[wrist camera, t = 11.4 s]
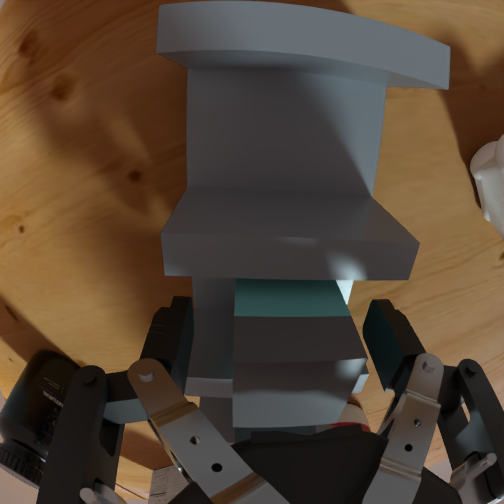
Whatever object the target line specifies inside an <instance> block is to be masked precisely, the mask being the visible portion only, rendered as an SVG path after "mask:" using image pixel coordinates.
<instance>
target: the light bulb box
mask: <svg viewBox="0 0 504 504" xmlns="http://www.w3.org/2000/svg"><path fill="white" fill-rule="evenodd" d="M187 485H188V483H187V482H186V480H185V479H184V478H183V476H182V475H181V474H180V472H179V471H178V469H177V468H176V466H175V465H172V466H169V467H166V468H162V469H159V470H155V471H153V474H152V480H151V487H150V494H149V501H148V504H167V503H168V502H170V501H171V500H172V499H173V498H174V497H175V496H176V495H177V494H178V493H179V492H181V491H182V490H183V489H184V488H185V487H186V486H187Z"/></svg>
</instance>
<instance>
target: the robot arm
mask: <svg viewBox="0 0 504 504" xmlns="http://www.w3.org/2000/svg"><path fill="white" fill-rule="evenodd" d="M193 338H194V318H193V307H192V298H191V297H184V296H174V297H173V300H172V303H171V306H170V308H169V307H161V308H160V309H159V310H158V311H157V312H156V313H155V314H154V317H153V320H152V323H151V326H150V329H149V332H148V334H147V337H146V340H145V343H144V347H143V350H142V353H141V356H140V359H139V360H138V361H136V362H134V363H133V364H132V365H131V366H130V367H129V369H128V370H126V371H122V372H116V373H108V374H105V372H104V370H103V369H102V368H100V367H98V366H94V365H88V366H84V367H82V368H80V369H79V370H77V371H76V373H75V374H74V376H73V378H72V381H71V383H70V386H69V389H68V392H67V394H66V397H65V400H64V403H63V406H62V409H61V412H60V415H59V418H58V421H57V424H56V427H55V431H54V434H53V437H52V441H51V444H50V448H49V451H48V455H47V458H46V462H45V466H44V470H43V474H42V479H41V483H40V487H39V492H38V497H37V502H36V504H127V503H126V501H125V500H124V499H123V498H122V497H121V496H119V495H118V494H117V493H115V492H114V490H115V482H116V475H117V468H118V462H119V455H120V449H121V443H122V438H123V432H124V427H125V423H133V422H140V421H147V422H148V424H149V425H150V427H151V429H152V430H153V432H154V434H155V435H156V437H157V438H158V440H159V441H160V443H161V445H162V446H163V448H164V449H165V451H166V452H167V454H168V455H169V457H170V459H171V460H172V462H173V463H174V465H175V466H176V468H177V469H178V471H179V472H180V474H181V475H182V476H183V478H184V479H185V480H186V482H187V483H188V485H187V486H186V487H185V488H184V489H183V490H182V491H181V492H179V493H178V494H177V495H176V496H175V497H174V498H173V499H172V500H171V501H170V502H168V503H167V504H496V503H497V502H499V501H501V500H502V499H504V411H503V409H502V407H501V405H500V402H499V400H498V398H497V396H496V394H495V392H494V390H493V388H492V386H491V384H490V383H489V381H488V379H487V377H486V375H485V373H484V371H483V369H482V368H481V366H480V365H479V364H478V363H477V362H476V361H474V360H471V359H463V360H462V361H461V362H460V363H459V365H458V366H457V367H454V366H446V365H443V363H442V362H441V360H440V359H439V358H438V357H436V356H435V355H433V354H429V353H426V351H425V349H424V347H423V346H422V344H421V342H420V340H419V338H418V337H417V335H416V333H415V332H414V330H413V328H412V326H410V323H409V321H408V319H407V318H406V316H405V315H404V314H402V313H401V312H400V311H399V310H395V309H394V307H393V305H392V303H391V302H390V300H389V299H374V300H372V301H371V303H370V306H369V309H368V312H367V315H366V318H365V321H364V324H363V338H364V340H365V343H366V345H367V348H368V350H369V353H370V355H371V358H372V360H373V363H374V365H375V368H376V371H377V373H378V376H379V378H380V381H381V384H382V386H383V389H384V392H386V391H392V390H394V392H395V395H394V396H393V398H392V400H391V403H390V405H389V408H388V410H387V412H386V415H385V417H384V419H383V421H382V424H381V426H380V428H379V430H378V432H377V433H373V432H369V431H363V430H362V427H361V423H359V424H352V425H345V426H337V427H333V428H330V429H327V430H325V431H322V432H319V433H315V434H312V435H302V434H296V433H290V432H284V431H251V436H250V438H249V439H245V440H242V441H239V442H236V443H234V444H232V445H229V444H228V443H227V442H226V440H225V439H224V438H223V437H222V436H221V435H220V433H219V432H218V431H217V430H216V429H215V427H214V426H213V425H212V424H211V423H210V421H209V420H208V419H207V418H206V416H205V415H204V414H203V413H202V411H201V410H200V409H199V408H198V406H197V405H196V404H195V403H194V402H189V401H188V400H187V399H186V397H185V396H184V393H185V386H186V380H187V374H188V368H189V361H190V356H191V350H192V344H193ZM463 402H465V404H466V406H467V409H468V411H469V413H470V421H469V423H468V420H467V418H466V415H465V413H464V410H463V408H462V406H461V405H462V404H463ZM436 423H437V424H438V427H439V430H440V433H441V436H442V439H443V442H444V445H445V448H446V451H447V454H448V458H449V461H450V464H451V468H452V471H453V472H452V474H451V478H450V482H449V484H448V483H447V482H445V481H444V480H442V479H441V478H439V477H438V476H436V475H435V474H434V473H432V472H431V471H429V470H428V469H427V468H425V467H424V466H423V465H424V462H425V459H426V456H427V453H428V450H429V447H430V444H431V441H432V437H433V434H434V430H435V427H436Z"/></svg>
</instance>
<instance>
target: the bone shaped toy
mask: <svg viewBox="0 0 504 504" xmlns="http://www.w3.org/2000/svg"><path fill="white" fill-rule="evenodd" d="M470 171H471V174H472V175H473V177H474V179H475V182H476V186H477V190H478V194H479V198H480V203H481V209H482V214H483V216H484V217H485V219H487V220H488V221H490V222H491V223H492V224H493V226H494V227H495V228H496V230H497V231H498V233H499V234H500V235H501V237H502V238H503V240H504V134H503V135H502V136H501V138H500V139H499V140H498V141H493V142H490V143H488V144H486V145H484V146H482V147H481V148H480V149H479V150H478V151H477V152H476V153H475V154H474V156H473V158H472V160H471V162H470Z"/></svg>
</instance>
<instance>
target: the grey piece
mask: <svg viewBox="0 0 504 504" xmlns="http://www.w3.org/2000/svg"><path fill="white" fill-rule="evenodd" d="M156 54H158V55H161V56H163V57H165V58H167V59H169V60H171V61H173V62H176V63H178V64H180V65H182V66H184V67H186V68H188V77H187V189H186V190H185V192H184V194H183V195H182V197H181V199H180V200H179V202H178V204H177V206H176V207H175V209H174V211H173V212H172V214H171V216H170V218H169V219H168V221H167V223H166V225H165V226H164V228H163V230H162V232H161V233H160V234H161V244H162V254H163V263H164V271H165V276H186V277H192V290H193V302H194V312H193V318H194V338H193V344H192V350H191V356H190V361H189V368H188V374H187V380H186V386H185V395H187V396H200V405H199V409H200V410H201V411H202V413H203V414H204V415H205V416H206V418H207V419H208V420H209V421H210V423H211V424H212V425H213V426H214V427H215V429H216V430H217V431H218V432H219V433H220V435H221V436H222V437H223V438H224V439H225V440H226V442H227V443H228V444H229V445H232V444H234V443H235V427H233V336H234V309H235V284H236V278H244V279H286V280H336V281H337V284H338V286H339V288H340V291H341V293H342V295H343V298H344V300H345V302H346V305H347V303H348V299H349V295H350V292H351V288H352V284H353V280H408V279H409V276H410V273H411V270H412V267H413V264H414V261H415V258H416V255H417V251H418V248H419V245H420V243H419V242H418V241H417V240H416V239H415V238H414V237H413V236H412V235H411V234H410V233H409V232H408V231H407V230H406V229H405V228H404V227H403V226H402V225H401V224H400V223H399V222H398V221H397V220H396V219H395V218H394V217H393V216H392V215H391V214H390V213H389V212H387V211H386V210H385V209H384V208H383V207H382V206H381V205H380V204H379V203H378V202H377V201H376V200H374V199H373V198H372V194H373V188H374V182H375V176H376V170H377V164H378V157H379V150H380V143H381V135H382V127H383V118H384V109H385V98H386V87H409V88H431V89H445V90H449V74H450V46H447V45H445V44H443V43H440V42H438V41H435V40H433V39H430V38H428V37H425V36H423V35H420V34H417V33H415V32H412V31H409V30H406V29H403V28H400V27H397V26H394V25H390V24H387V23H384V22H380V21H377V20H373V19H369V18H365V17H361V16H357V15H353V14H348V13H344V12H339V11H334V10H328V9H322V8H316V7H310V6H303V5H295V4H286V3H275V2H261V1H196V2H182V3H172V4H163V5H159V14H158V27H157V42H156ZM368 375H369V372H368V370H367V367H366V364H365V366H364V368H363V370H362V372H361V375H360V377H359V379H358V381H357V383H356V385H355V387H354V389H353V391H352V393H360V391H361V389H362V387H363V385H364V383H365V381H366V379H367V377H368ZM315 426H316V432H317V433H319V432H322V431H325V430H327V429H330V428H332V426H331V424H322V425H315Z"/></svg>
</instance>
